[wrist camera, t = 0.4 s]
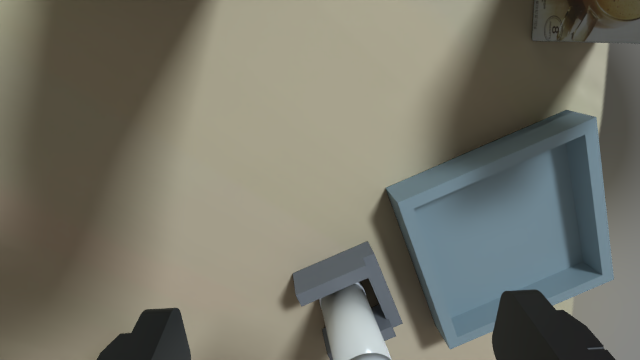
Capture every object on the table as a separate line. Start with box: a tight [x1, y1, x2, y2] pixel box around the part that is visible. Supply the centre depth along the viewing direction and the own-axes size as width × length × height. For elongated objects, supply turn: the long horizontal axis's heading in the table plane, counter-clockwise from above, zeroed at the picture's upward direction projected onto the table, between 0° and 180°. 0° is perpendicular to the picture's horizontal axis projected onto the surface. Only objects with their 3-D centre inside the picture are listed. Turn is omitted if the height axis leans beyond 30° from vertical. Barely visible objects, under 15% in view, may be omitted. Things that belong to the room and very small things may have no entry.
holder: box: [293, 241, 403, 360], centre depth 33 cm, size 8×7×3 cm
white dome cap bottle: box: [319, 282, 392, 360], centre depth 30 cm, size 4×4×10 cm
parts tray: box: [386, 110, 614, 349], centre depth 33 cm, size 16×16×3 cm
